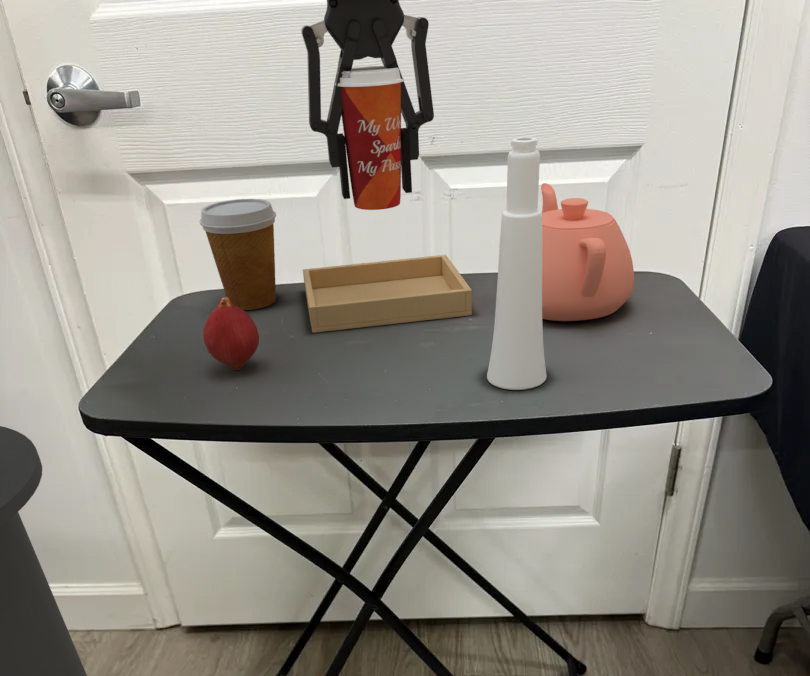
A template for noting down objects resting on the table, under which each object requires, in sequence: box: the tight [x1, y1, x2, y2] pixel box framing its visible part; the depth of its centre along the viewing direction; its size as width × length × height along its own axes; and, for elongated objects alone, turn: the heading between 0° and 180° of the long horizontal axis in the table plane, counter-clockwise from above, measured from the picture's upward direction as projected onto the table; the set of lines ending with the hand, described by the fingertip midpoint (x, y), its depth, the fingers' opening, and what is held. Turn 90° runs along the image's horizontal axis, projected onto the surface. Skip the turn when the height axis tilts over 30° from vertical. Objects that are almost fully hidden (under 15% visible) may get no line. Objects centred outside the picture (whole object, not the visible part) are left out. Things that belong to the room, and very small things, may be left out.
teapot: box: [540, 182, 635, 322], centre depth 92 cm, size 22×15×12 cm
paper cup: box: [334, 65, 404, 211], centre depth 89 cm, size 8×8×14 cm
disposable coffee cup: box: [199, 198, 277, 311], centre depth 99 cm, size 10×10×12 cm
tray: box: [302, 254, 473, 334], centre depth 99 cm, size 20×16×3 cm
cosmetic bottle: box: [486, 136, 548, 391], centre depth 72 cm, size 6×6×22 cm
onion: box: [202, 296, 260, 371], centre depth 83 cm, size 6×6×8 cm
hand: (376, 193), depth 92 cm, fingers closed on paper cup, 7 cm apart
